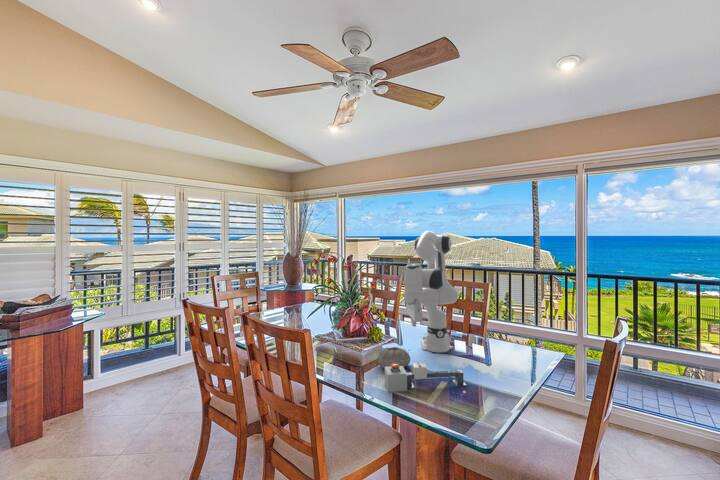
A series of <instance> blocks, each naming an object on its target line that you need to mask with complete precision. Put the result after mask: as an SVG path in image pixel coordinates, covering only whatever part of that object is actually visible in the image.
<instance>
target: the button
mask: <svg viewBox="0 0 720 480" xmlns="http://www.w3.org/2000/svg"><path fill="white" fill-rule="evenodd" d="M391 367H392V372H399V367H400V364H399V363H392V364H391Z"/></svg>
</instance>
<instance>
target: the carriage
mask: <svg viewBox="0 0 720 480" xmlns="http://www.w3.org/2000/svg"><path fill="white" fill-rule="evenodd" d="M427 372H428V367H427V365H426V364H425V363H424V362H419V361H418V362H416V363H415V362H414V363H413V362H412V363H411V373H414V379H413V380H423V379H424V380H425V379H428V378H427Z"/></svg>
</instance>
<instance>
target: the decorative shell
mask: <svg viewBox="0 0 720 480" xmlns="http://www.w3.org/2000/svg"><path fill="white" fill-rule="evenodd" d="M410 362H411V356H410V354H409V352H407V350H405V348H404V349H403V348H401V347H398V346H392V347H385V348H382V349H381V350H380V351H379V352H378V355H377V363H378V365H379V366H380V367H381V368H383V369H385V367H389V366H391V364H392V363H399V364H400V366H403V367H404V368H405V367H407V366H408V365H409V364H410Z"/></svg>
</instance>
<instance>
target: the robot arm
mask: <svg viewBox="0 0 720 480" xmlns="http://www.w3.org/2000/svg"><path fill="white" fill-rule="evenodd" d="M414 240H415V241H414V245H413V246H414V250H415V252H416V254H417V256H418V257H419V258H420V259H421V260H422V261H425V262H426V263H427V264H426V265H427V266H426V267H427V268H422V265H421V264H420V263H418V262H417V263H416V262H413V263H408V264H407V265H405V268H404V277H403V279H404V280H403V281H404V282H403V283H404V290H403V291H404V293H403V298H404V301H405V302H404V303H405V304H404V305H405V310H406V312H407V313H408V315H409V316H410V323H411V325H412V327H414V328H415V327H417V323H422V322H423V307H424V309H425V310H426V314H427V320H428V321H427V322H428V324H427V328H426V329H427V330H426V332H425V333H424V335H423V336H422V340H421V341H420V343H421V348H422V350H423V351H429V352H433V353H447V352H449V351H450V350H452V349H453V346H452V345H451V341H450V340H451V339H450V337H451V336H450V335H449V333H448V326H447V314H446V312H444V310H442V309H440V308H437V305H449V304H454V303H456V302H457V300H458V298H459V293H458V290H457V288H455V287H454V286H453V285H452V284H450V282H449V280H448V278H447V273H446V259H445V258H446V257H445V255H446V254H447V253H449V252H450V251H451V249H452V240H451V238H450V236H449V235H447V234H446V235H444V234H443V235H438V234H436V233H435V232H434V231H431V230H426V231H424V232H423V233H421V235H420V236H418V237H417V238H416V239H414ZM422 306H423V307H422Z"/></svg>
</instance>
